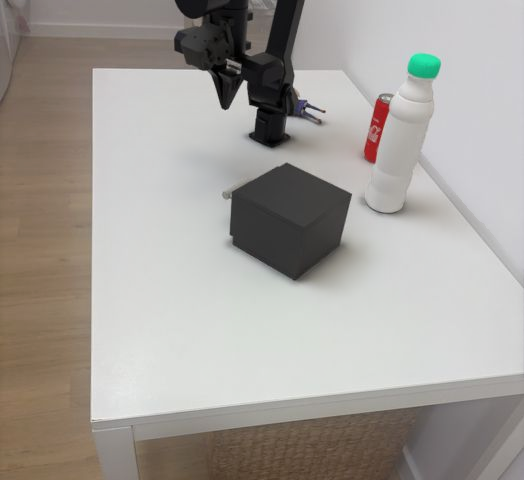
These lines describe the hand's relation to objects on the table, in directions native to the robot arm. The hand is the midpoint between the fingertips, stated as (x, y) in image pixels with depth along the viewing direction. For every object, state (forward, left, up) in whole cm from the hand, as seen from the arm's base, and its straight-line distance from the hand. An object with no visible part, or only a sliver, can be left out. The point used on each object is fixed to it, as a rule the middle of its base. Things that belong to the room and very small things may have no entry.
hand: (225, 109), depth 90 cm
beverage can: (-28, +17, -12) cm, 35 cm away
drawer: (+9, +18, -11) cm, 23 cm away
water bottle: (-14, +27, -12) cm, 33 cm away
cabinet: (+9, +22, -12) cm, 27 cm away
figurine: (-31, -7, -12) cm, 34 cm away
